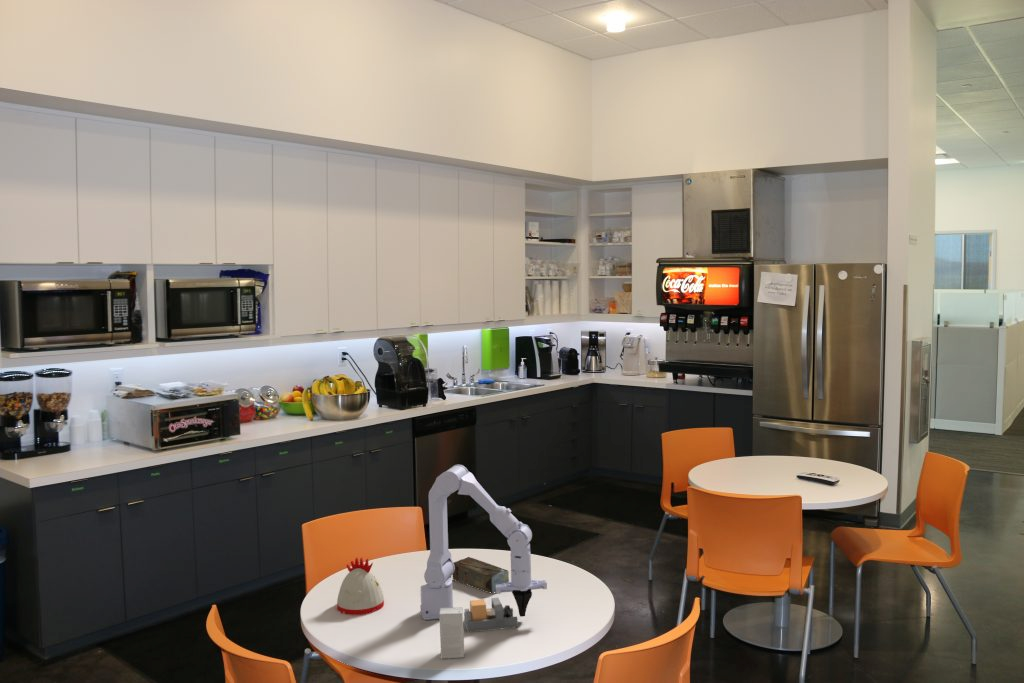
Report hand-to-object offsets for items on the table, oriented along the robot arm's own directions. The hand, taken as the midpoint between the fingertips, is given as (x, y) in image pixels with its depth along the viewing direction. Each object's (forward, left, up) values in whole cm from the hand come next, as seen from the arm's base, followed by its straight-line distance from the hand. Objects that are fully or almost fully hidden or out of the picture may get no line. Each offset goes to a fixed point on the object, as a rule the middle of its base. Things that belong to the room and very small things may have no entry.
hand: (522, 615), depth 241 cm
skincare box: (-22, -17, -2) cm, 28 cm away
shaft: (-7, 0, -1) cm, 7 cm away
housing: (-9, 0, -2) cm, 9 cm away
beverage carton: (-7, +32, -2) cm, 33 cm away
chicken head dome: (-45, +23, -2) cm, 51 cm away
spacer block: (-13, 0, -1) cm, 13 cm away
